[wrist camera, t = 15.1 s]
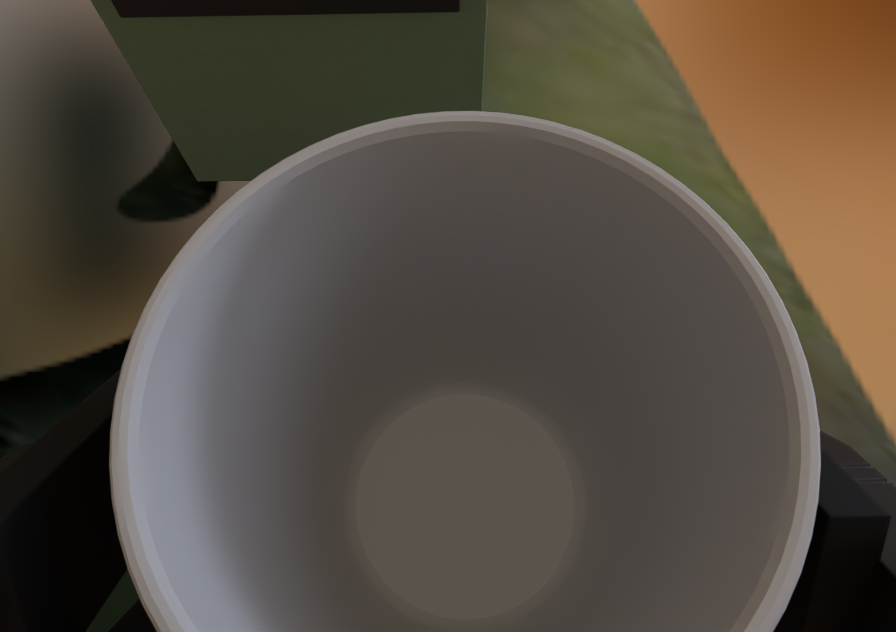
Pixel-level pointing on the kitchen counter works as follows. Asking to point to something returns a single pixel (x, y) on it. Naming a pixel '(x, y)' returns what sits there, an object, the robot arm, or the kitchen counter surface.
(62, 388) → the kitchen counter surface
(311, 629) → the mug
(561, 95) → the kitchen counter surface
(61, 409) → the kitchen counter surface
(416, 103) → the coffee machine
